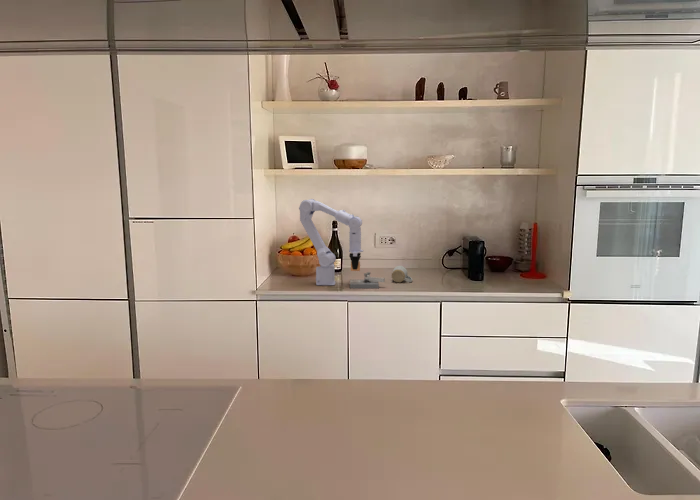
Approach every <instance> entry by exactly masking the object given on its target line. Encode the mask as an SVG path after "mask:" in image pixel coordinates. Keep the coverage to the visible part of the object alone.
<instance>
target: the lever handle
mask: <svg viewBox="0 0 700 500" xmlns="http://www.w3.org/2000/svg"><path fill="white" fill-rule="evenodd" d="M363 277H364V279H363V280H364V281H365V282H369V281H375V282H378V283H385V282H386V281H385V280H386V279H385V277H378V276H377V277H376V276H371V272H370V271H367V272H364V273H363Z"/></svg>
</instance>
